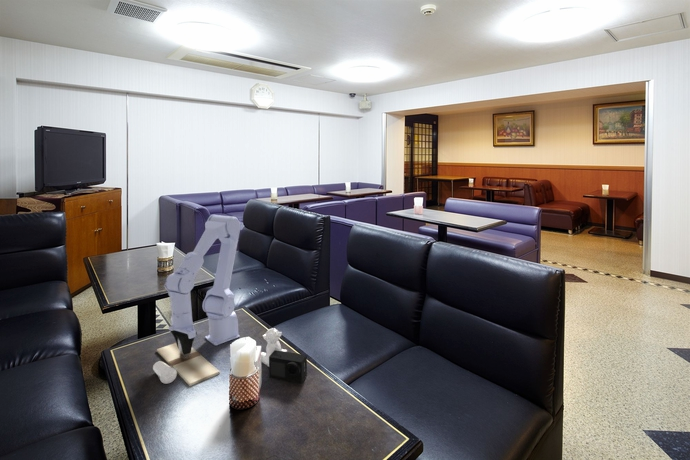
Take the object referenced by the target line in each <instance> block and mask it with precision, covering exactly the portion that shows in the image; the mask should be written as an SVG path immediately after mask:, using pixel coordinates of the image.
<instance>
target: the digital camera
mask: <svg viewBox="0 0 690 460" xmlns="http://www.w3.org/2000/svg"><path fill="white" fill-rule="evenodd" d="M307 357H308V355H307V354H302V353H297V352H296V353H295V352H290V351H287V352H284V351H278V350H274V352H273V353H272V354H271V355H270V356H269V367H268V368H269V369H268V370H269V373H268V374H269V378H270V379H274V380H279V381H284V382H285V381H286V382H290V383H297V384H303V382H304V381H305V379H306V377H307V376H308V373H307V372H308V369H307V368H308V363H307V362H308V358H307Z"/></svg>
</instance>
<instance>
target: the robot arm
mask: <svg viewBox="0 0 690 460" xmlns="http://www.w3.org/2000/svg"><path fill="white" fill-rule="evenodd" d="M204 223H205V224H204V228H205V229H204V232H203V233H202V235H201V237H200V239H199V240H198V242H197V244H196V245H195V247H194V249H193V251H190V252H187V254H185V255H184V257H183V259H182V261H181V262H180V264H179V266H178V267H177V268H176V270H175V271H174V272H173V273H170V274H169V275H168V276H167V277H166V279H165V282H164V284H163V285H164V288H165V290H167V292H168V293H167V295H168V296H169V300H170V312H171V317H170V324H171V326H168V330H169V331H170V333H171V334H172V337H173V338H174V340H175V341H174V342H175V343H176V344H177V347H178V339H179V341H180V344H181V348H182V352H183V354H184V355H185V354H188V353H191V349H192V348H193V345H194V344H193V343H194V340H195V338H196V337H197V336H198V334H197V333H198V332H197V331H196V330H195V326H194V322H193V311H192V299H191V297H192V296H191V291H192V290H193V289H194V287H195V280H196V276H197V274H198V273H199V271H200V269H201V268H202V266H203V264H204V262H205V260H204V256H205V255H206V254H207V252H208V251H209V249H210V248H211V247H212V246H213V244H214V243H215V242H216V240H217V239H218V240H219V241H220V243H221V244H220V248H219V255H218V261H217V264H216V265H217V266H216V270H215V275H214V282H213V286H212V287H211V288H210V289H208V290H207V291H206V295H205V297H204V299H203V301H202V310H203V312H205V313H206V316H207V318H208V329H209V331H208V333H209V334H207V335H205V336H204V338H205V339H206V340H207V341H208V342H210V343H211V344H212V345H213V346H219V345H221V344H223V343H228V342H229V341H231V340H235V339H237V338H239V337H240V334H239V320H238V316H237V314H236V312H235V311H234V310H235V307H236V306H235V305H236V304H235V298H236V297H235V294H234V293H233V292H232V290H230V287H231V286H230V285H231V281H232V275H233V271H234V270H233V269H234V263H235V259H236V253H237V249H238V242H239V238H240V234H241V233H240V232H241V228H242V224H241V222H240V220H239V219H238V217H236V216H228V215H220V214H215V213H214V214H210V216H209V217H208V218H207V220H206V221H205V222H204ZM178 349H179V347H178Z"/></svg>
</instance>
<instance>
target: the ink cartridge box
mask: <svg viewBox="0 0 690 460" xmlns="http://www.w3.org/2000/svg"><path fill="white" fill-rule="evenodd" d="M244 338H245V339H246V337H245V336H244ZM255 346H256V362H255V361H254V365H255V367H256V369H257V366H258V367H259V394H258V397H256V398H255V399H254V400H253V401H258V400H259V395H260V391H261V387H262V384H263V383H262V382H263V381H262V380H263V378H262V377H263V376H262V373H263V372H262V361H261V352H262V345H255Z"/></svg>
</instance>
